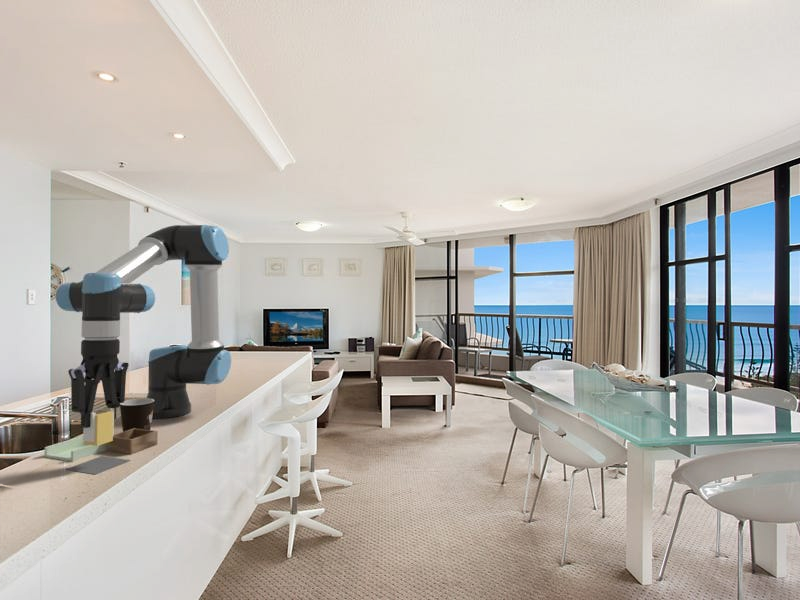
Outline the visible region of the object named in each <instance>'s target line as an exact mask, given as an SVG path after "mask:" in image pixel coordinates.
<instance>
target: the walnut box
mask: <svg viewBox="0 0 800 600" xmlns="http://www.w3.org/2000/svg"><path fill="white" fill-rule="evenodd" d="M157 445H158V430H152V429H150V430H145V429H136V428H133V429H130V430H127V431H124V432H123V431H122V432H118V433H115V434H114V435H113V441H111V442H108V443H107V450H106V451H107V452H110V453H118V454H119V453H120V454H126V455H127V454H128V455H135V454H136V453H140V452H141V451H144V450H147V449H149V448H151V447H156V446H157Z"/></svg>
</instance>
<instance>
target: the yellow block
mask: <svg viewBox="0 0 800 600" xmlns="http://www.w3.org/2000/svg"><path fill="white" fill-rule="evenodd" d="M93 412H94V413H96V420H95V441H94V442H88V441H84V444H86V445H94V446H98V445H102V444H105V443H108V442H111V441H113V411H104V410H103V409H99V410H96V411H95V410H94V411H93Z"/></svg>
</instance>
